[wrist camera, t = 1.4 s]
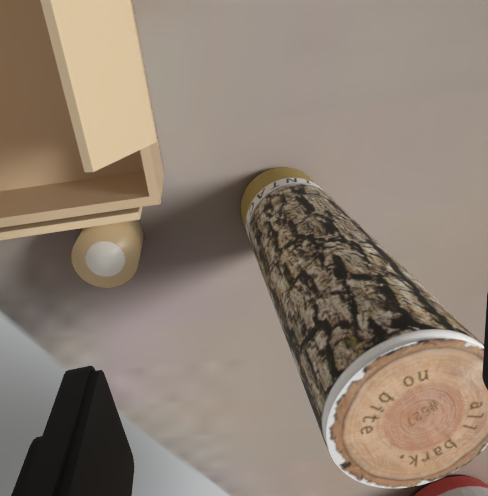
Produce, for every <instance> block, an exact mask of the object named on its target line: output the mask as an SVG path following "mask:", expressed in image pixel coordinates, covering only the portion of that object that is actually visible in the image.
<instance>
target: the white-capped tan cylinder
mask: <svg viewBox="0 0 488 496" xmlns="http://www.w3.org/2000/svg"><path fill="white" fill-rule="evenodd" d="M142 243H143V229H142V226H141V224H140V223H139V221H138V220H133V221H126V222H120V223H113V224H106V225H100V226H93V227H86V228H83V229H82V231H81V233H80V235H79V236H78V238H77V240H76V242H75V244H74V246H73V248H72V253H71V260H72V265H73V267H74V269H75V271H76V273H77V274H78V275H79V276H80V277H81V278H82V279H83V280H84V281H86V282H87V283H89V284H91V285H93V286H96V287H101V288H113V287H117V286H120V285H123V284H125V283H126V282H128V281H129V280H130V279H131V278H132V277H133V276H134V274H135V273H136V271H137V268H138V264H139V259H140V254H141V249H142Z"/></svg>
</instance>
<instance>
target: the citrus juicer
mask: <svg viewBox="0 0 488 496" xmlns="http://www.w3.org/2000/svg"><path fill="white" fill-rule="evenodd" d="M414 496H488V485H487V484H485V483H484V482H482V481H481V480H478V479H476V478H474V477H468V476H454V477H444V478H442V479H441V480H438V481H435V482H433V483H431V484H429V485H427V486H426V487H424V488H422V489H421V490H420V491H418V492H417V493H416V494H415V495H414Z"/></svg>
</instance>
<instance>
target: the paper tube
mask: <svg viewBox="0 0 488 496" xmlns="http://www.w3.org/2000/svg"><path fill="white" fill-rule="evenodd" d="M241 217H242V220H243V223H244V226H245V229H246V231H247V235H248V238H249V240H250V243H251V246H252V248H253V251H254V254H255V256H256V259H257V262H258V264H259V267H260V270H261V272H262V275H263V278H264V280H265V283H266V286H267V288H268V291H269V294H270V296H271V299H272V302H273V305H274V307H275V310H276V313H277V315H278V318H279V321H280V323H281V326H282V329H283V331H284V334H285V337H286V339H287V342H288V345H289V347H290V350H291V353H292V355H293V358H294V361H295V363H296V366H297V369H298V371H299V374H300V377H301V380H302V382H303V385H304V388H305V390H306V393H307V396H308V398H309V401H310V404H311V406H312V409H313V412H314V414H315V417H316V420H317V422H318V425H319V428H320V430H321V433H322V436H323V438H324V441H325V443H326V446H327V448H328V449H329V452H330V454H331V456H332V458H333V460H334V462H335V463H336V465H337V466H338V467H339V468H340V469H341V470H342V471H343V472H344V473H345V474H347V475H348V476H349V477H351V478H353V479H354V480H356V481H359V482H361V483H364V484H366V485H370V486H374V487H380V488H407V487H414V486H419V485H423V484H426V483H430V482H433V481H436V480H438V479H440V478H443V477H445V476H447V475H449V474H451V473H453V472H455V471H456V470H458V469H460V468H461V467H463V466H464V465H466V464H467V463H469V462H470V461H471V460H473V459H474V458H475V457H476V456H477V455H478V454H479V453H481V452H482V451H483V450H484V449H485V447H486V446H487V445H488V390H487V388H486V387H485V384H484V382H483V377H482V373H483V357H484V345H483V344H482V343H481V342H480V341H479V340H478V339H477V338H476V337H475V336H474V335H473V334H472V333H471V332H470V331H469V330H468V329H467V328H466V327H465V326H464V325H463V324H462V323H461V322H460V321H459V320H458V319H456V318H455V317H454V316H453V315H452V314H451V313H450V312H449V311H448V310H447V309H446V308H445V307H444V306H443V305H442V304H441V303H440V302H439V301H438V300H437V299H436V298H435V297H434V296H433V295H432V294H431V293H430V292H428V291H427V290H426V289H425V288H424V287H423V286H422V285H421V284H420V283H419V282H418V281H417V280H416V279H415V278H414V277H413V276H412V275H411V274H410V273H409V272H408V271H407V270H406V269H405V268H404V267H403V266H401V265H400V264H399V263H398V262H397V261H396V260H395V259H394V258H393V257H392V256H391V255H390V254H389V253H388V252H387V251H386V250H385V249H384V248H383V247H382V246H381V245H380V244H379V243H378V242H377V241H376V240H374V239H373V238H372V237H371V236H370V235H369V234H368V233H367V232H366V231H365V230H364V229H363V228H362V227H361V226H360V225H359V224H358V223H357V222H356V221H355V220H354V219H353V218H352V217H351V216H350V215H349V214H348V213H346V212H345V211H344V210H343V209H342V208H341V207H340V206H339V205H338V204H337V203H336V202H335V201H334V200H333V199H332V198H331V197H330V196H329V195H328V194H327V193H326V192H325V191H324V190H323V189H322V188H320V187H319V186H318V185H317V184H316V183H315V182H314V181H313V180H312V179H311V178H310V177H309V176H307V175H306V174H305V173H303V172H301V171H299V170H296V169H293V168H288V167H278V168H273V169H269V170H267V171H265V172H263V173H261V174H259V175H258V176H257V177H255V178H254V179H253V180H252V181H251V182H250V184H249V185H248V186H247V188H246V190H245V192H244V194H243V197H242V201H241Z"/></svg>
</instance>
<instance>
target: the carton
mask: <svg viewBox="0 0 488 496" xmlns="http://www.w3.org/2000/svg"><path fill="white" fill-rule="evenodd" d="M130 1H131V6H132V12H133V17H134V22H135V28H136V33H137V38H138V44H139V49H140V54H141V60H142V65H143V70H144V76H145V81H146V86H147V92H148V97H149V102H150V108H151V113H152V118H153V124H154V129H155V134H156V140H157V142H156V143H153V144H151V145H149V146H147V147H145V148H143V149H141V150H139V151H137V152H135V153H132V154H130V155H128V156H126V157H124V158H122V159H120V160H118V161H116V162H114V163H111V164H109V165H107V166H105V167H103V168H101V169H99V170H97V171H95V172H84V168H83V164H82V160H81V156H80V153H79V149H78V145H77V141H76V137H75V133H74V129H73V125H72V121H71V118H70V114H69V110H68V106H67V102H66V98H65V94H64V90H63V87H62V83H61V79H60V75H59V71H58V67H57V63H56V59H55V55H54V52H53V48H52V44H51V40H50V36H49V32H48V28H47V24H46V20H45V17H44V13H43V9H42V5H41V1H40V0H0V240H6V239H13V238H19V237H26V236H33V235H39V234H46V233H53V232H60V231H66V230H73V229H80V228H86V227H93V226H100V225H106V224H113V223H120V222H126V221H133V220H140V217H141V213H142V208H143V207H144V206H151V205H158V204H161V197H162V188H163V180H164V170H163V164H162V159H161V154H160V148H159V143H158V138H157V132H156V127H155V122H154V116H153V111H152V105H151V100H150V95H149V89H148V84H147V79H146V73H145V68H144V63H143V57H142V52H141V47H140V41H139V36H138V30H137V25H136V20H135V14H134V9H133V4H132V0H130Z"/></svg>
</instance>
